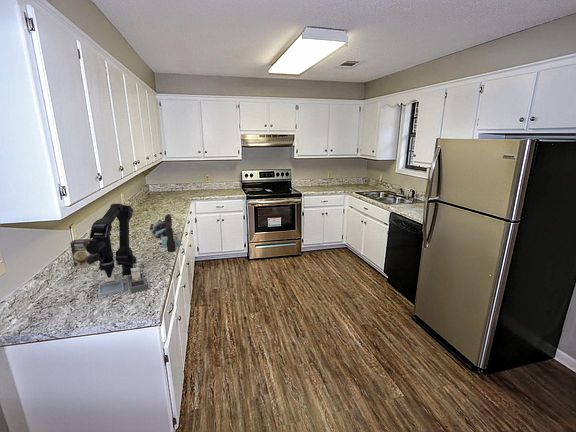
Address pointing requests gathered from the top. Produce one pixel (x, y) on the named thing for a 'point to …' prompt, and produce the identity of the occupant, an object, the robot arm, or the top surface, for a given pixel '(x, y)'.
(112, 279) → the plug
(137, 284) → the grey boxy piece
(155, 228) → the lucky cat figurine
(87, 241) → the coffee box
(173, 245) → the dark tall piece
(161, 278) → the top surface
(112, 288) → the tray
